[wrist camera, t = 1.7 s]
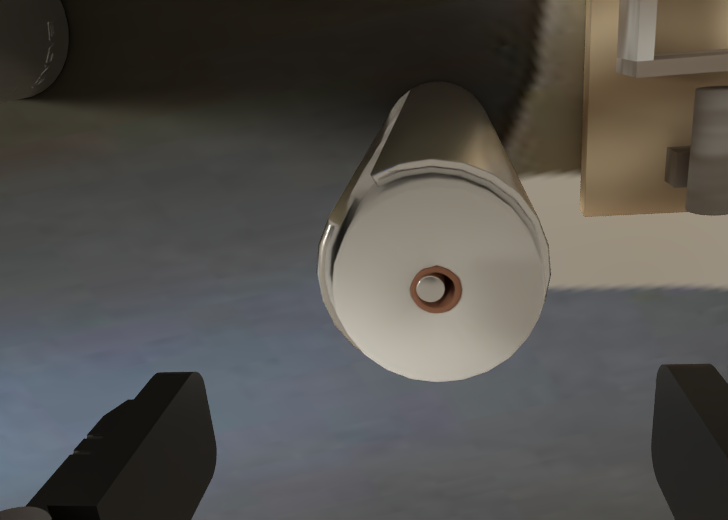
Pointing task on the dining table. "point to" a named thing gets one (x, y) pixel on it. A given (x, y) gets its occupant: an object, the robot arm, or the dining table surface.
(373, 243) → the air filter
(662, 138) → the coupling stand
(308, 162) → the dining table surface
